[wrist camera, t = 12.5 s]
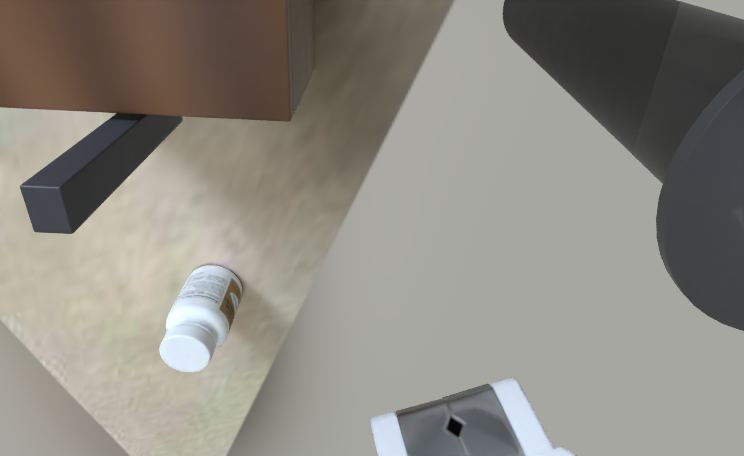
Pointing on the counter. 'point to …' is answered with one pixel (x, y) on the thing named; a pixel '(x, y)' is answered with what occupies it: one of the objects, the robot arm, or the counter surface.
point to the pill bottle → (200, 318)
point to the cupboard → (157, 56)
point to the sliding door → (92, 170)
